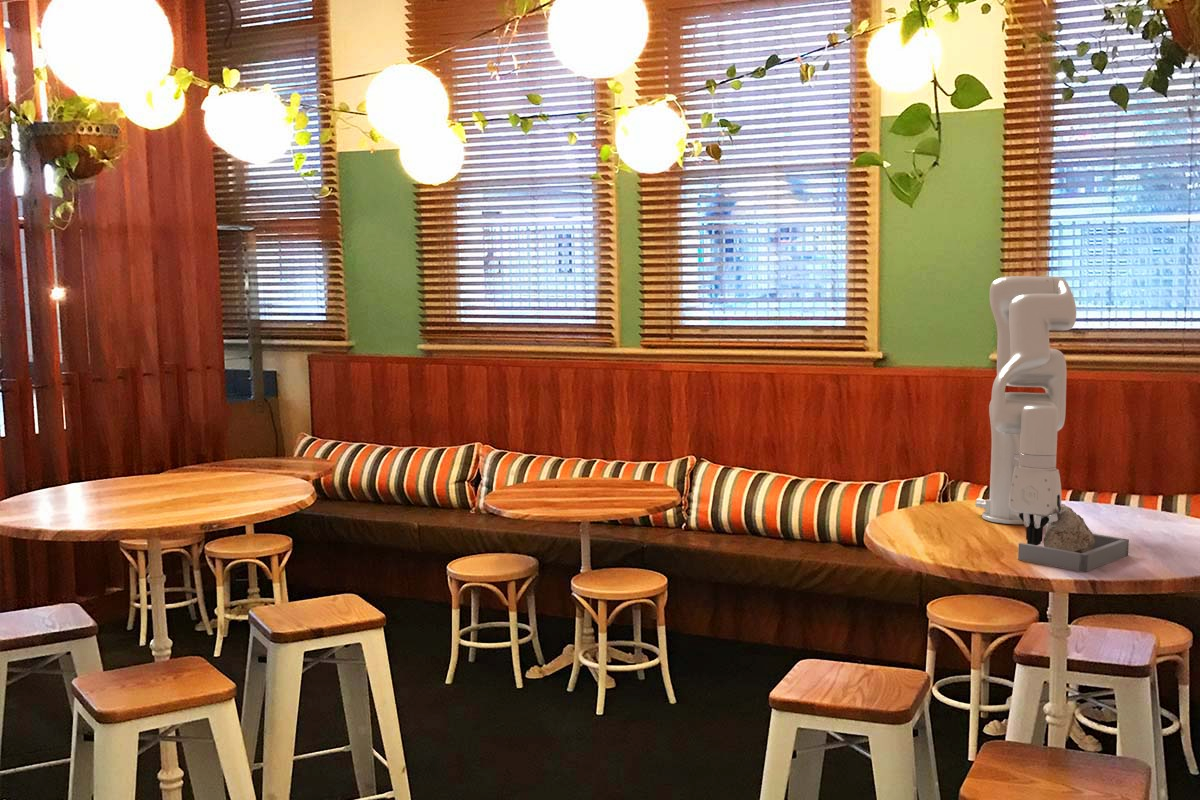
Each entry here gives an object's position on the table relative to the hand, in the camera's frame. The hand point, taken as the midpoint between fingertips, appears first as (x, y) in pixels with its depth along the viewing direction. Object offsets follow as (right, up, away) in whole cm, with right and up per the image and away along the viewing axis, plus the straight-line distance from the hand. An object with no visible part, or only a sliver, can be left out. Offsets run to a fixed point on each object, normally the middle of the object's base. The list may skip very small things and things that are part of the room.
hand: (1033, 544), depth 253 cm
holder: (+6, -2, -6) cm, 9 cm away
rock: (+6, -2, -3) cm, 7 cm away
